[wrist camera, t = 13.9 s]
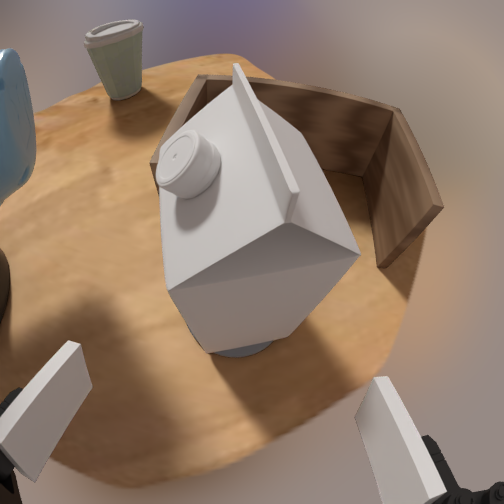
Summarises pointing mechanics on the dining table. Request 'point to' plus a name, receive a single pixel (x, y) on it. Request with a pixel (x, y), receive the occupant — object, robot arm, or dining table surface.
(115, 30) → the disposable coffee cup
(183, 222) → the milk carton
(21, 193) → the dining table surface
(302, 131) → the walnut cubby
